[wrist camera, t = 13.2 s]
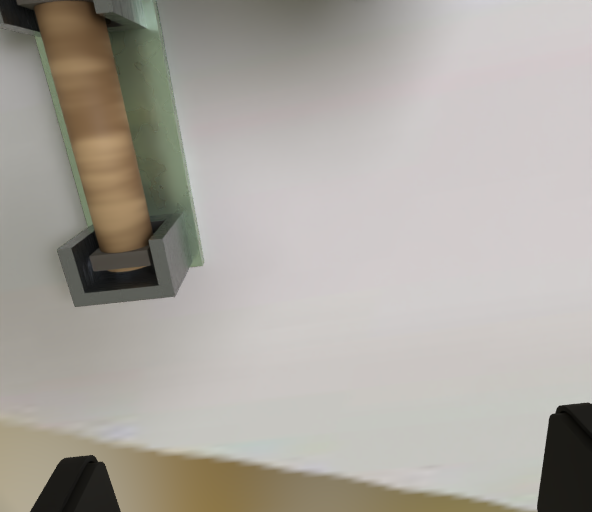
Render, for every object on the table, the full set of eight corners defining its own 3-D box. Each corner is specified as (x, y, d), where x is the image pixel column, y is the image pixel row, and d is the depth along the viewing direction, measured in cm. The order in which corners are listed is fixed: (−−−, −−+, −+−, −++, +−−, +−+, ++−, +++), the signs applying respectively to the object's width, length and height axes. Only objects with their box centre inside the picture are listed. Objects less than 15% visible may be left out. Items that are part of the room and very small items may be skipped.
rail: (45, -9, 29) (9, -25, 25) (107, -16, 29) (81, -33, 25) (114, 255, 36) (94, 275, 32) (165, 249, 36) (151, 269, 32)
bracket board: (21, -37, 31) (-61, -77, 24) (146, -50, 31) (105, -94, 24) (105, 272, 40) (65, 314, 32) (204, 261, 40) (187, 301, 32)
